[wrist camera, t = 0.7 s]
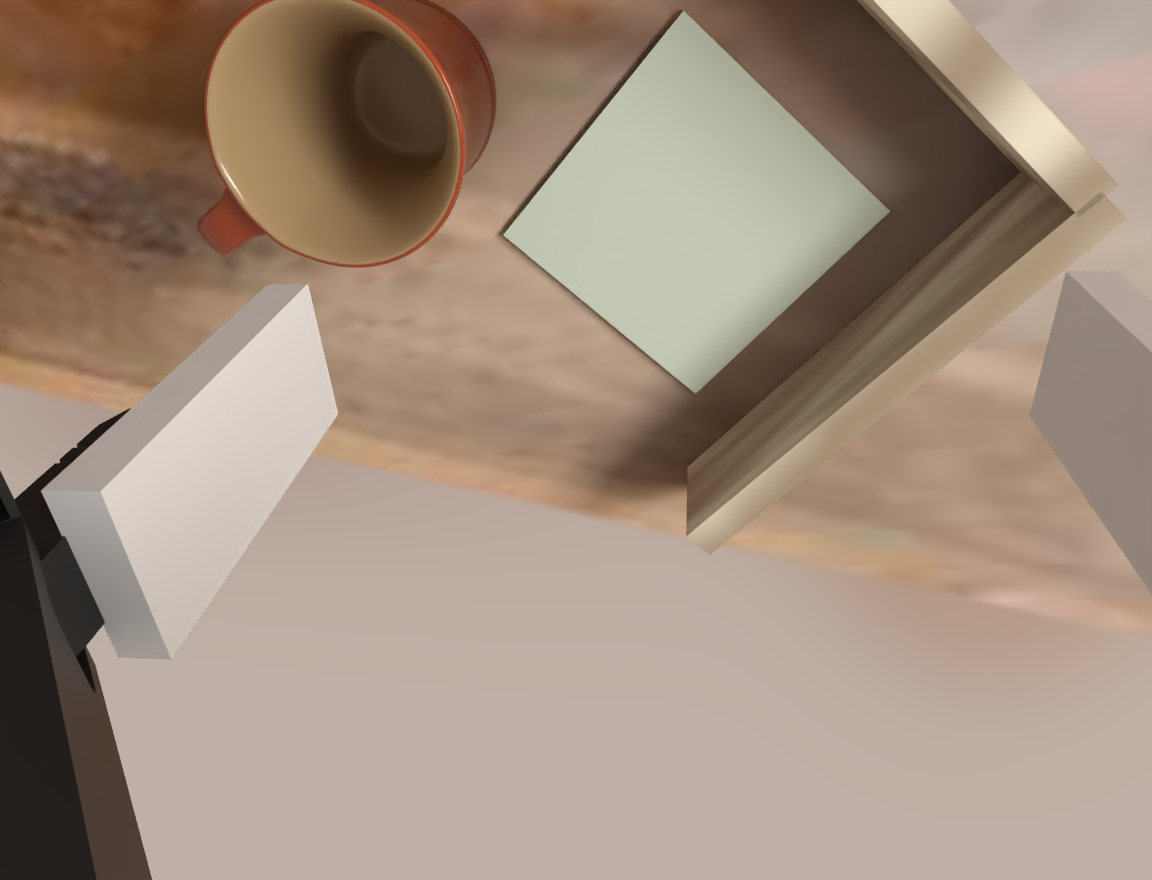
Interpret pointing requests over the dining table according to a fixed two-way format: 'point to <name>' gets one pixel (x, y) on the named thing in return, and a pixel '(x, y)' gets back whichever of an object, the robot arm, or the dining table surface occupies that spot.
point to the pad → (694, 208)
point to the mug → (343, 126)
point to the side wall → (993, 97)
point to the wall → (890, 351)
